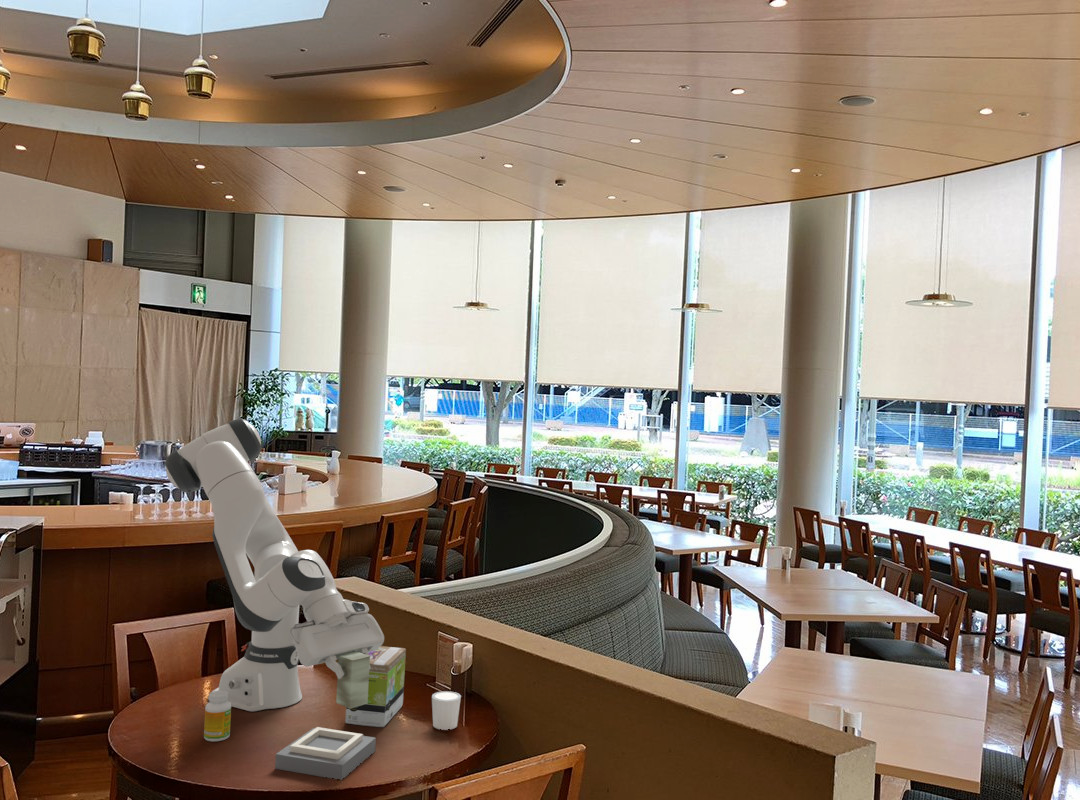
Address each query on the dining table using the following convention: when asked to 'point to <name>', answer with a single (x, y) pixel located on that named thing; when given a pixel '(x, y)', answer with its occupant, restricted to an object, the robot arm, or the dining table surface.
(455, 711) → the white cup
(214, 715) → the supplement bottle
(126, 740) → the dining table surface
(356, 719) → the tea box
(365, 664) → the green block
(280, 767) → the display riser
